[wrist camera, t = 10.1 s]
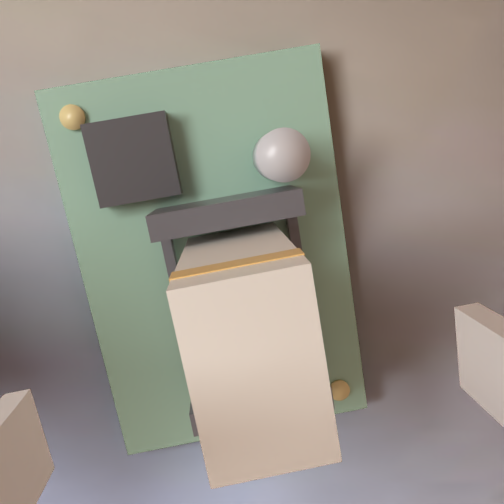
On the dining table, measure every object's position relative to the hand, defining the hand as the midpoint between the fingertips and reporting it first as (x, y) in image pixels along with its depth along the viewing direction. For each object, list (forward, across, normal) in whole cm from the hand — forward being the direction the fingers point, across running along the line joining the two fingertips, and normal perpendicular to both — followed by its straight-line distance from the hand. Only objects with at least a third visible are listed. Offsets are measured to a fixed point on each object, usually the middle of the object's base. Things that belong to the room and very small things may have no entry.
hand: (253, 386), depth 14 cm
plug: (+11, 0, 0) cm, 11 cm away
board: (+12, -1, +1) cm, 12 cm away
